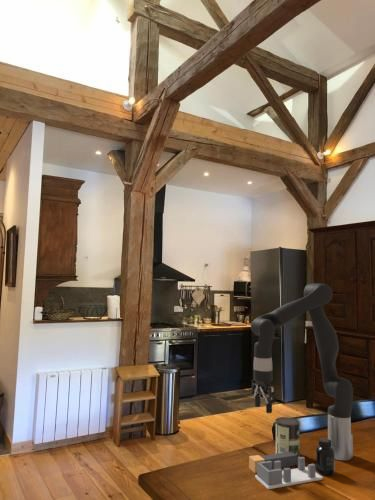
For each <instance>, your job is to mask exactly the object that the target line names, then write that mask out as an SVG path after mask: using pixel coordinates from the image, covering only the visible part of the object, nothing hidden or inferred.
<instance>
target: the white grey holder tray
mask: <svg viewBox="0 0 375 500" xmlns="http://www.w3.org/2000/svg"><path fill="white" fill-rule="evenodd" d="M254 478H255V479H256V480H257V481H258V482H259V483H261V485H262V486H264V487H265V488H266V489H267V490H273V489H276V488H282V487H283V488H284V487H289V486H295V485H299V484H305V483H311V482H316V481H322V480H324V477H323V475H321V474H320V473H318V472H317V471H316V464H315V463H310V464H307V466H306V457H305V456H300V457H298V459H297V468H290V467H284V468H281V461H274V469H272V462H271V461H266V462H259V463H257V473H256V475H254Z"/></svg>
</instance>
